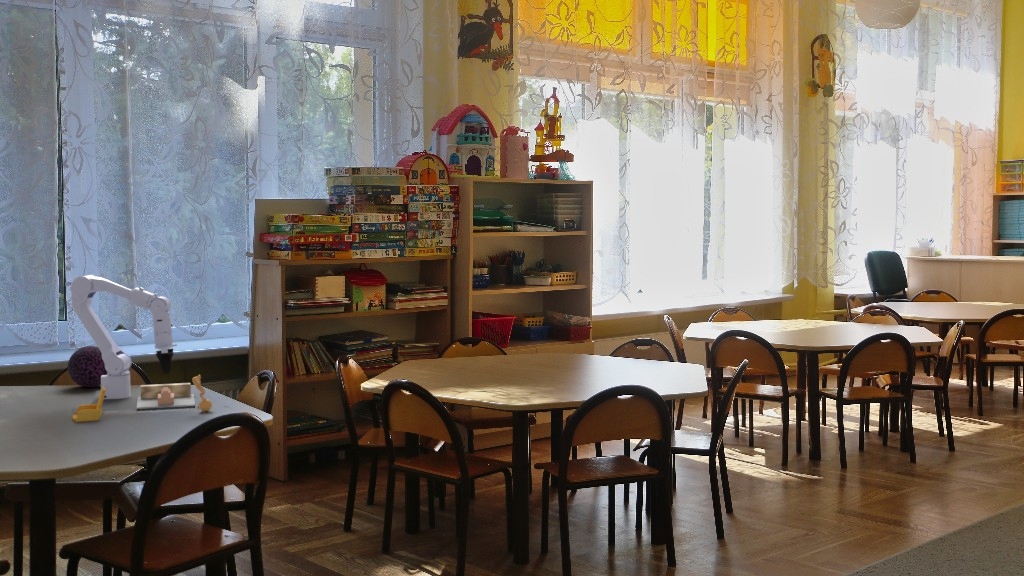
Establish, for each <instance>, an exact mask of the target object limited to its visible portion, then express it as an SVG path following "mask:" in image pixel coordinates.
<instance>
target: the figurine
mask: <svg viewBox="0 0 1024 576" xmlns="http://www.w3.org/2000/svg"><path fill="white" fill-rule="evenodd" d="M201 378H202V376H201V374H198V375H197V376H194V377H192V379H191V381H192V383H193V384H194V386H195V388H196V389H197V390H198V391H200V393H199V397H200V398H201V399H202V400H201V401H199V404H198V407H199V410H200V411H202V412H204V413H205V412H208V411H210V410H211V409H212V408H213V404H212V401H211V400H210V399H208V398H206V397H204V395H205V394H206V390H205V389H204V387H203V386H202V385H201V382H202V381H201Z"/></svg>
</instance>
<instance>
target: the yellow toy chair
mask: <svg viewBox="0 0 1024 576" xmlns="http://www.w3.org/2000/svg"><path fill="white" fill-rule="evenodd" d="M105 391H106V390H105V387H102V388H101V387H100V392H99V396H98V399H97V402H96V403H92V404H81V405H79V406H78V407H77V410H76V412H75V414H72V422H75V423H77V422H91V421H92V422H93V421H99V420H100V418H101V416H102V413H103V409H102V406H103V403H104V400H105V399H104V398H105V397H104V395H105Z"/></svg>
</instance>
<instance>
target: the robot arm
mask: <svg viewBox="0 0 1024 576" xmlns="http://www.w3.org/2000/svg"><path fill="white" fill-rule="evenodd" d="M69 290H70V292H71V305H72V309H73V311H74V313H75V314H76V315H77V317H78V319H79V320H80V322H81V323H82V324H83V326H84V328H85V329H86V331H87V333H88V334H89V336H90V337H91V339H92V340H93V342H94V343H95V345H96V347H98V348H99V349H100V351H101V352H102V359H103V361H104V363H105V369H106V371H107V372H108V373H107V375H101V385H100V389H101V388H102V387H105V390H106V391H105V395H104V399H103V400H122V399H123V400H124V399H127V398H128V399H129V398H130V397H131V395H132V394H131V371H130V370H129V369H130V368H131V367H132V362H133V361H132V358H131V356H130V355H129V354H128V353H126V352H124V351H123V349H122V348H121V347H120V346H119V345H117V344H116V342H115V340H114V339H113V338H112V337H111V335H110V333H109V332H108V330H107V329H106V327H105V326H104V324H103V322H102V321H101V319H100V318H99V316H98V314H96V312H95V310H94V309H93V307H92V306H91V304H92V301H93V298H94V296H95V294H97V293H98V292H107V293H110V294H113V295H115V296H120V297H122V298H125V299H127V301H128V302H129V303H130V304H131V305H133V306H136V307H139V308H142V309H143V310H144V309H145V310H146V311H150V312H151V313H152V327H153V336H154V349H156V351H155V356H156V357H157V359H158V362H159V363H160V367H161V371H162V374H163V375H165V374H170V373H171V365H172V360H173V356H174V348H173V347H177V346H178V345H177V343H174V341H173V332H172V331H173V330H172V319H171V311H170V310H171V307H172V303H171V300H170V299H169V298H168V297H167V296H165V295H159V293H156V292H154V293H152V292H149V291H147V290H145V287H135V288H128V287H126V286H123V285H121V284H119V283H117V282H114V281H112V280H109V279H107V278H104V277H101V276H96V275H95V274H86V275H80V276H77V277H75V278H74V279H73V281H72V282H71V285H70V288H69Z"/></svg>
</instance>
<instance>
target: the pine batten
mask: <svg viewBox="0 0 1024 576" xmlns="http://www.w3.org/2000/svg"><path fill="white" fill-rule="evenodd" d="M191 386H192V385H191V382H180V383H162V384H161V383H160V384H157V383H156V384H140V397H141V398H158V394H161V389H163V387H168V389H170V393H174V397H179V396H191V394H192V392H191V391H192V389H191Z"/></svg>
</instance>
